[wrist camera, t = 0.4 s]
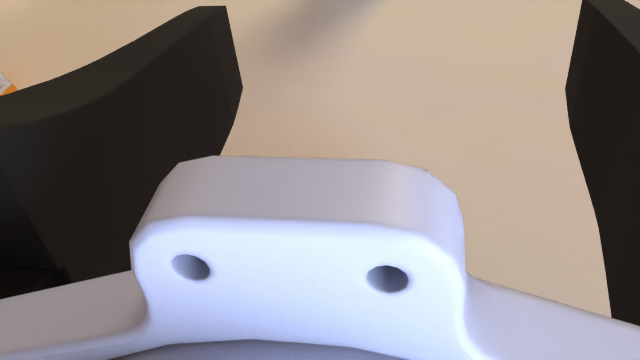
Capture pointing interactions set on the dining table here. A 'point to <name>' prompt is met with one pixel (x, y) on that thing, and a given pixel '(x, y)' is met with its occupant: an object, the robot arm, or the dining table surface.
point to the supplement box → (6, 85)
